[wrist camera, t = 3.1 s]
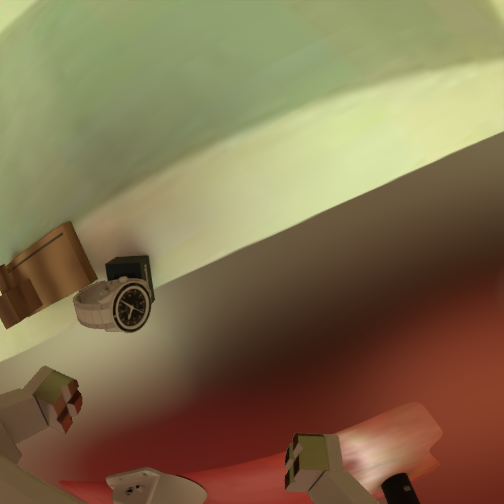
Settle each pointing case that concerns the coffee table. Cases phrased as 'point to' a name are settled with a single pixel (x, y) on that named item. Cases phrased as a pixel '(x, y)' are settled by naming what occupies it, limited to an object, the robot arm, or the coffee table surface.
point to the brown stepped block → (16, 299)
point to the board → (54, 266)
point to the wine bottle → (399, 490)
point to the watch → (118, 297)
